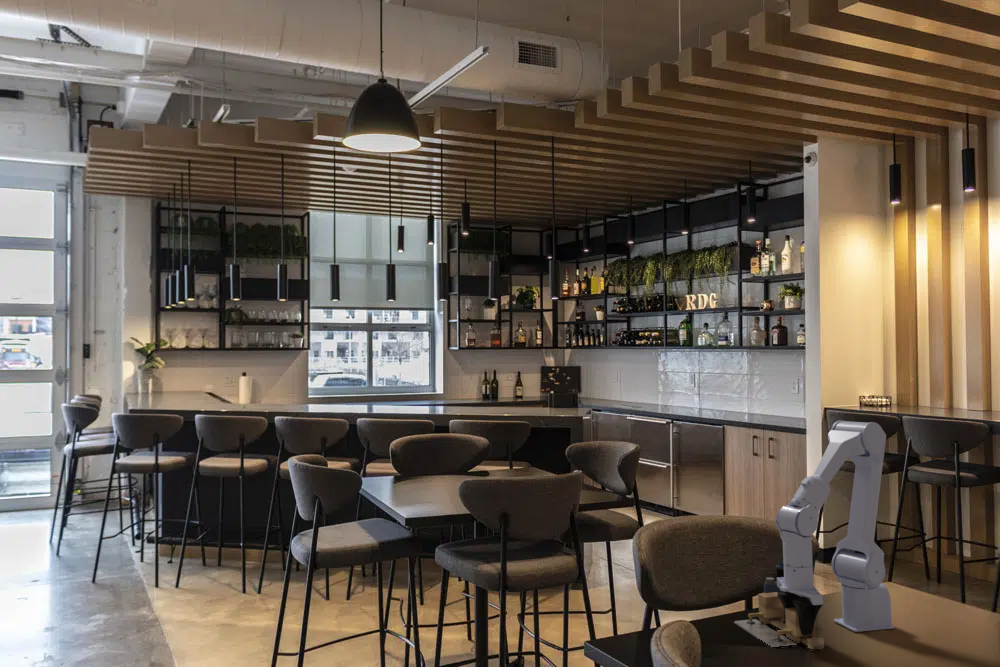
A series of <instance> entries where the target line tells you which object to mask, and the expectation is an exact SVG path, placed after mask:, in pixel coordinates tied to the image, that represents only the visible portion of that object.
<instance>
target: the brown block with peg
mask: <svg viewBox="0 0 1000 667" xmlns="http://www.w3.org/2000/svg"><path fill="white" fill-rule="evenodd" d="M784 618H785V624H786V630H778V629H777V630H776V632H777V638H778V639H780V634H781V635H784V634H785V635H786V636H785V637H786V638H787V637H788V638H789V640H790V639H791V641H792V640H793V641H794V643H795V642H796V644H801V643H800V637H799V636H807V637H808V638H817V630H816V628H817V627H816V623H815V624H814V628H813V633H812V634H811V635H802V634H801V631H800V625H799V618H798V614H797V610H796V608H785V616H784ZM788 638H787V639H788ZM793 641H792V642H793Z"/></svg>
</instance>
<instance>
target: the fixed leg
mask: <svg viewBox="0 0 1000 667" xmlns="http://www.w3.org/2000/svg"><path fill="white" fill-rule="evenodd" d="M757 594H758V598H757V599H758V612H751V613H747V614H748V615H747V617H748V618H749V619H748V620H749V621H752V619H753V618H757V617H758V621H760V622H761V623H762V622H763V624H764V625H766V624H769V619H768V618H776V619H777V620H779V621H781V622H785V616H784V607H783V605H782V602H781V600H780V599H779V597H778V595H777V592H773V593H764V592H763V593H762V592H761V593H757ZM769 625H770V624H769Z"/></svg>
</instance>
